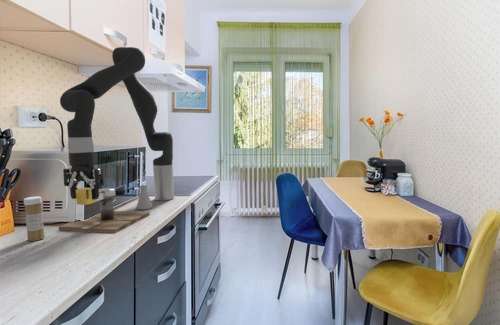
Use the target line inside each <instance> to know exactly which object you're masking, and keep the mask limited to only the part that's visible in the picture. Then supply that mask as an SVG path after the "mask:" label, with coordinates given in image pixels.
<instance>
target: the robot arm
mask: <svg viewBox="0 0 500 325" xmlns="http://www.w3.org/2000/svg"><path fill="white" fill-rule="evenodd" d="M111 54H112V56H111V57H112V62H113V64H114V65H113V64H112V65H111V66H108V67H106V68H103V69H100V70H99V71H97V72H95V73H94V74H92V75H91V76H89V77H88V78H87V79H86V80H84V81H83V82H81V83H79V84H76V85H74V86H72V87H71V88H69V89H67V90H65V91H64V92H63V93H62V94H61V96H60V99H59V103H60V106H61V108H62V109H63V110H64V111H65V112H68V113H74V117H73V118H72V119H70V120H68V122H67V124H66V128H67V129H66V130H67V151H68V164H69V166H70V167H67V168H64V169H63V170H62V171H63V172H62V173H63V185H64V187H68V188H69V194H70V197H71V200H75V199H76V190H77V189H79V188H78V185H79V183H81V182H86V184H87V185H89V186H90V187H89V188H92V189H91V195H92V200H95V199H98V197H99V189H100V188H101V187H104V185H105V183H104V182H105V181H104V174H103V168H101V167H100V168H95V167H94V165H95V160H96V159H95V146H94V141H93V133H92V132H93V131H92V123H93V118H94V115H95V114H94V113H95V109H96V103H95V102H96V101H95V100H97V99H101V97H103V96H104V95H105V94H106V93H107V92H108V91H111V89H112V88H113V87H115V86H116V85H117V84H119V83H121V82H123V84H124V86H125V88H126V90H127V93H128V94H129V96H130V99H131V102H132V104H133V107H134V109H135V111H136V114H137V116H138V119H139V120H140V122H141V126H142V128H143V131H144V135H145V139H146V142H147V144H148V147H149V149H151V151H154V152H162V153H161V155H160V156H159V157H155V158H154V159H152V166H153V167H152V168H153V187H154V188H153V190H154V200H155V201H170V200H173V199H174V198H175V191H174V190H175V189H174V188H175V187H174V173H173V172H174V170H173V169H174V168H173V160H174V159H173V158H174V154H173V153H174V147H173V146H174V142H173V141H174V140H173V136H172V134H171V132H167V131H166V132H165V131H164V132H161V131H160V132H159V131H158V132H157V131H156V130H155V127H154V123H155V120H156V118H157V114H158V106H157V103H156V101H155V98H154V95H153V93H152V92H151V91H150V90H149V89H148V88H147V87H146V86H145V85H144V84H143V83H142V82H141V81H140V80H139V79H138V77H137V76H136V73H138V72H140V71H141V70H142V69H143V68H144V67H145V64H146V56H145V54H144V52H143V50H141V49H140V48H138V47H134V46H130V47H128V46H126V47H125V46H124V47H123V46H121V47H115V48H114V49H113V51H112V53H111Z"/></svg>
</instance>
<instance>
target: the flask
mask: <svg viewBox="0 0 500 325" xmlns="http://www.w3.org/2000/svg"><path fill="white" fill-rule="evenodd" d="M147 188H148V185H139V190H140V191H139V192H140V193H139V197H138V201H137V204H136V207H135V210H140V211H144V210H151V209H153V208H154V206H153V203H152V201H151V199H150V198H151V197H150V196H149V194H148V189H147Z"/></svg>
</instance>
